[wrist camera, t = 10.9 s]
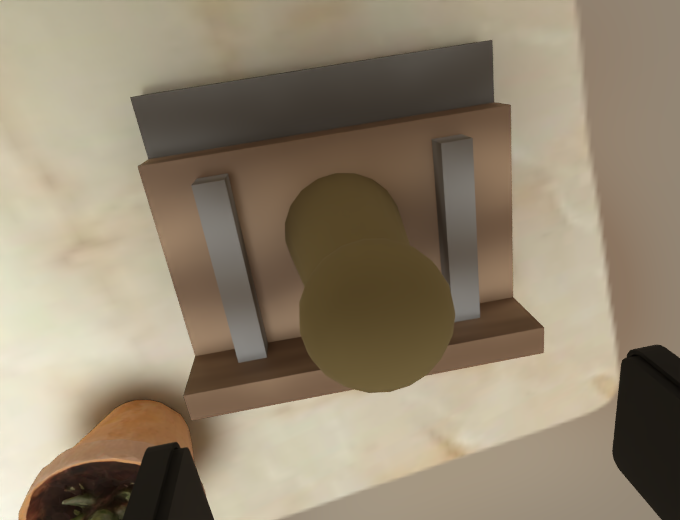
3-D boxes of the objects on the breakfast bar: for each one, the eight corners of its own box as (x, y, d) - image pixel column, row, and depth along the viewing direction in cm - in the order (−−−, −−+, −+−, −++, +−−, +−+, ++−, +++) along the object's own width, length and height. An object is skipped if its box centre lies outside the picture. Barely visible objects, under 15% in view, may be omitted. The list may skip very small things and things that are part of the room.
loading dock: (141, 95, 25) (88, 104, 18) (477, 42, 26) (548, 31, 19) (211, 341, 31) (191, 420, 24) (486, 291, 32) (543, 352, 25)
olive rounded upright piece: (274, 182, 24) (268, 267, 13) (395, 163, 24) (480, 232, 14) (294, 293, 26) (303, 438, 16) (405, 274, 26) (485, 404, 16)
